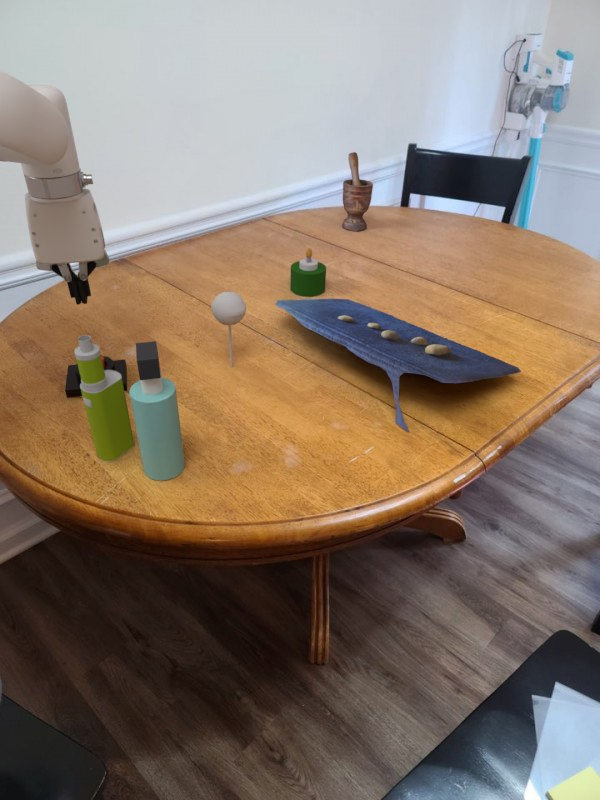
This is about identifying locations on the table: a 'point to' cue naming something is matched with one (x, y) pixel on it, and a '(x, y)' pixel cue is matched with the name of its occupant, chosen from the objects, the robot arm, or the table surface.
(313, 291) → the candle
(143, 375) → the spray bottle
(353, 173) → the mortar and pestle
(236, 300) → the lollipop
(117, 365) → the button box
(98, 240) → the robot arm
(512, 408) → the table surface
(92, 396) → the vape
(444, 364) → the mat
